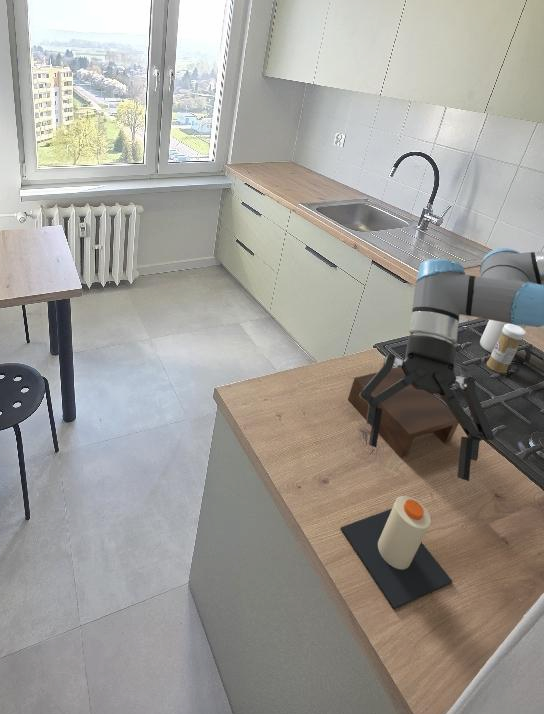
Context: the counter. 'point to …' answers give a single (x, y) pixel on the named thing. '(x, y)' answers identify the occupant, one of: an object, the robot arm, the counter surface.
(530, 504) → the counter surface
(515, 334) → the sprinkles bottle
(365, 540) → the mat
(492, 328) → the milk bottle
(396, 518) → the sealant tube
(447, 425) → the shelf
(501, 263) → the robot arm
